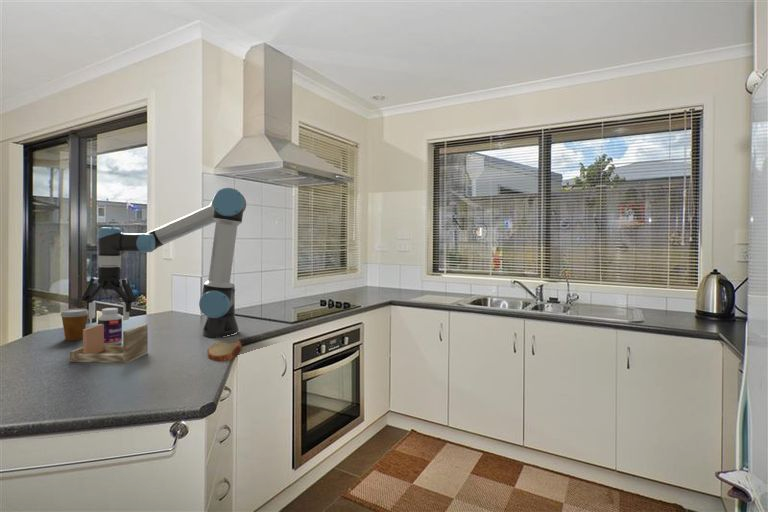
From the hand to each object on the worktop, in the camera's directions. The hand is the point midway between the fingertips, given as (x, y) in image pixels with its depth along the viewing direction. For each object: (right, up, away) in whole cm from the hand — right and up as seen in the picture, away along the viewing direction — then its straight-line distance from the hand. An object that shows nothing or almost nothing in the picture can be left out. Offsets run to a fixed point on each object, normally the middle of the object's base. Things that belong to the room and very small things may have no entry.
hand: (109, 319), depth 168 cm
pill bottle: (0, -11, +1) cm, 11 cm away
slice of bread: (+50, -12, -7) cm, 52 cm away
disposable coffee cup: (-20, -10, +8) cm, 24 cm away
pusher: (+5, -10, -16) cm, 20 cm away
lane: (+11, -11, -16) cm, 23 cm away
